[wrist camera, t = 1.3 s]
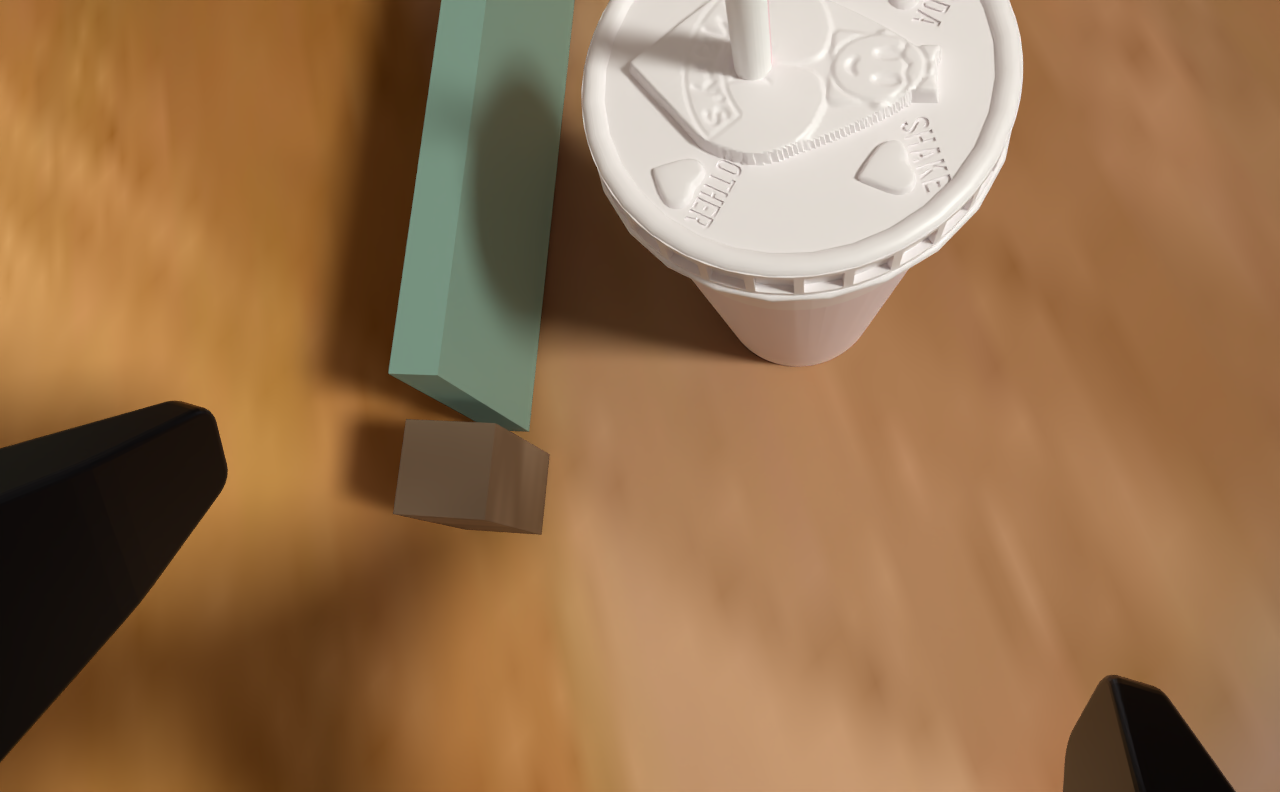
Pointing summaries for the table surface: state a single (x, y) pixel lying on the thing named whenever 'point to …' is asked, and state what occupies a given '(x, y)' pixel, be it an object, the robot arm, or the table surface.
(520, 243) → the green block
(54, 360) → the table surface
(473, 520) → the brown block
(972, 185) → the smoothie
